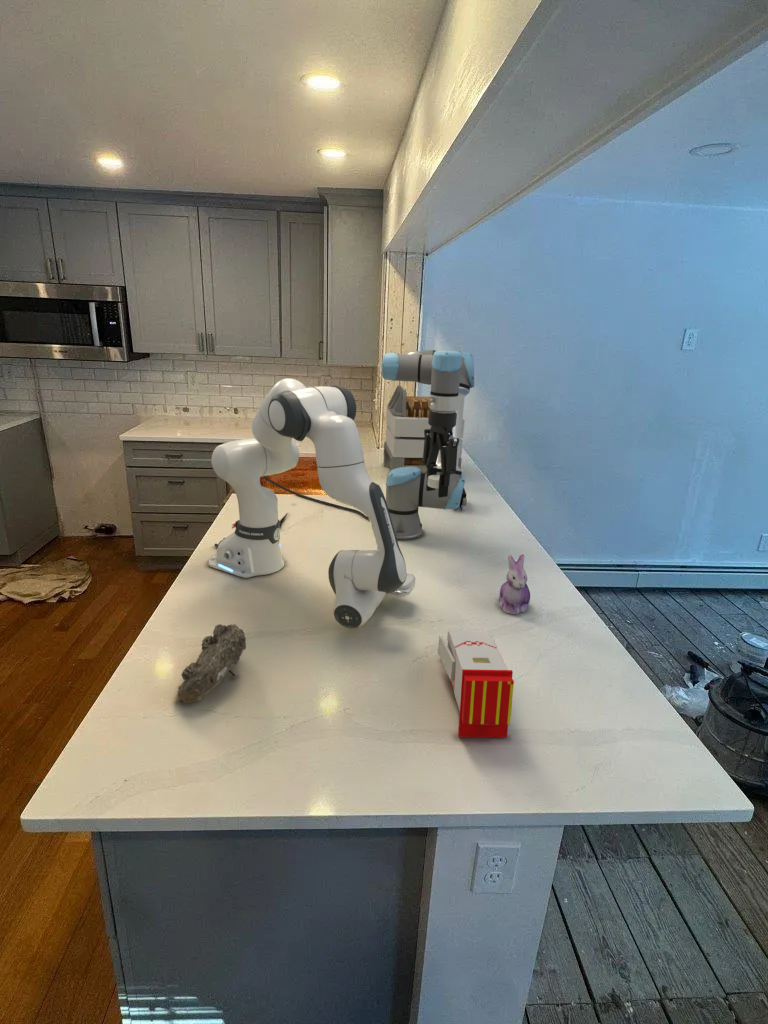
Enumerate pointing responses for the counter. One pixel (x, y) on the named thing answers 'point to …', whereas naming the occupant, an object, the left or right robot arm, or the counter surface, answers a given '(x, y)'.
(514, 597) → the figurine
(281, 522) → the feather
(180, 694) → the fossil
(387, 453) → the grey boxy container
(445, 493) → the right robot arm
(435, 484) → the lid
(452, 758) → the counter surface
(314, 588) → the counter surface
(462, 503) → the figurine character
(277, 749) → the counter surface
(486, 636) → the toy
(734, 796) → the counter surface
